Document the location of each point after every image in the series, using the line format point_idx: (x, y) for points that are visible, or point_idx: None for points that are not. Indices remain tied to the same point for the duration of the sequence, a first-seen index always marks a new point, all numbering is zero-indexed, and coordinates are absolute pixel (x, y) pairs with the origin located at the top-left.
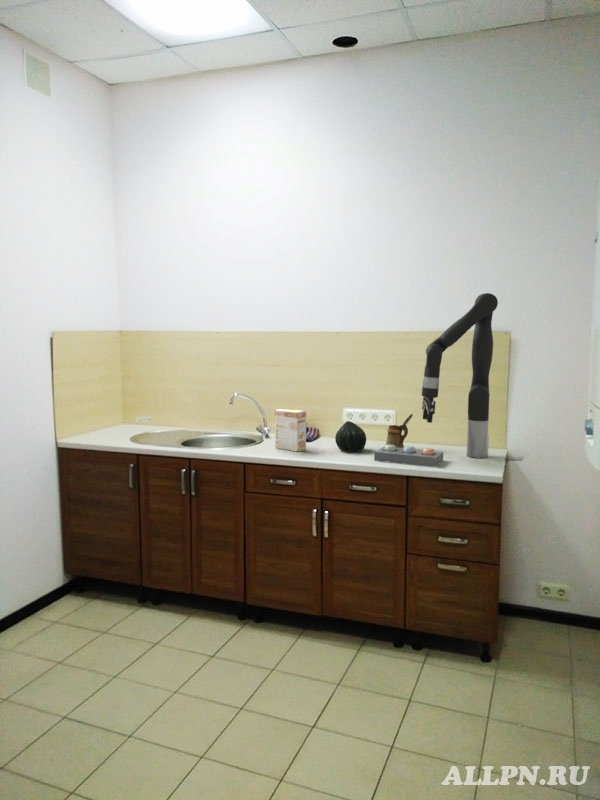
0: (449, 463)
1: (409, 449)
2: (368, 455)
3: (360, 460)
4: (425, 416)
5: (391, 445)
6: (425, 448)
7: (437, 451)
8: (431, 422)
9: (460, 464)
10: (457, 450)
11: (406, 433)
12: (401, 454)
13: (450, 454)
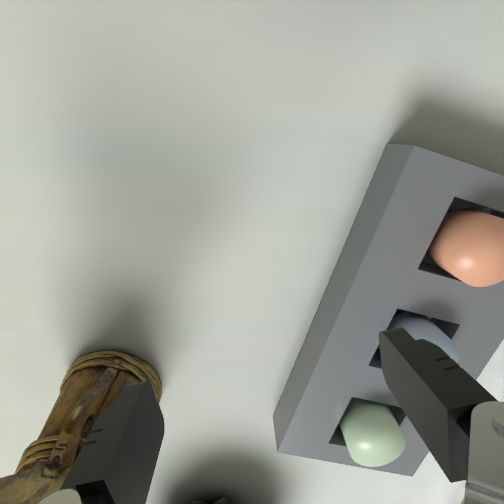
0: (464, 108)
1: (455, 355)
2: (298, 464)
3: (391, 478)
4: (145, 435)
5: (369, 441)
6: (460, 272)
7: (403, 186)
8: (398, 329)
9: (496, 34)
10: (43, 8)
11: (87, 406)
12: (477, 375)
13: (202, 80)
